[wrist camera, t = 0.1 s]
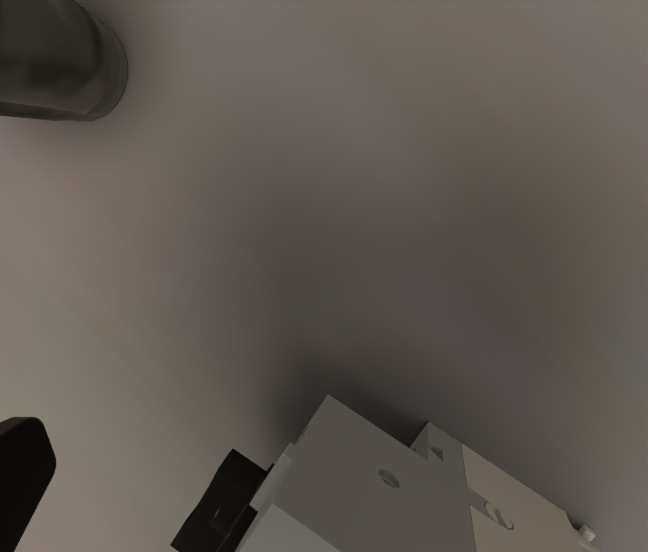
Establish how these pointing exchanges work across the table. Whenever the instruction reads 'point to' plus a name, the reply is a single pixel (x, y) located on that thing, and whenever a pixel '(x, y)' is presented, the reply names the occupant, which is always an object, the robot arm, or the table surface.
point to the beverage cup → (58, 62)
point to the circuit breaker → (373, 498)
